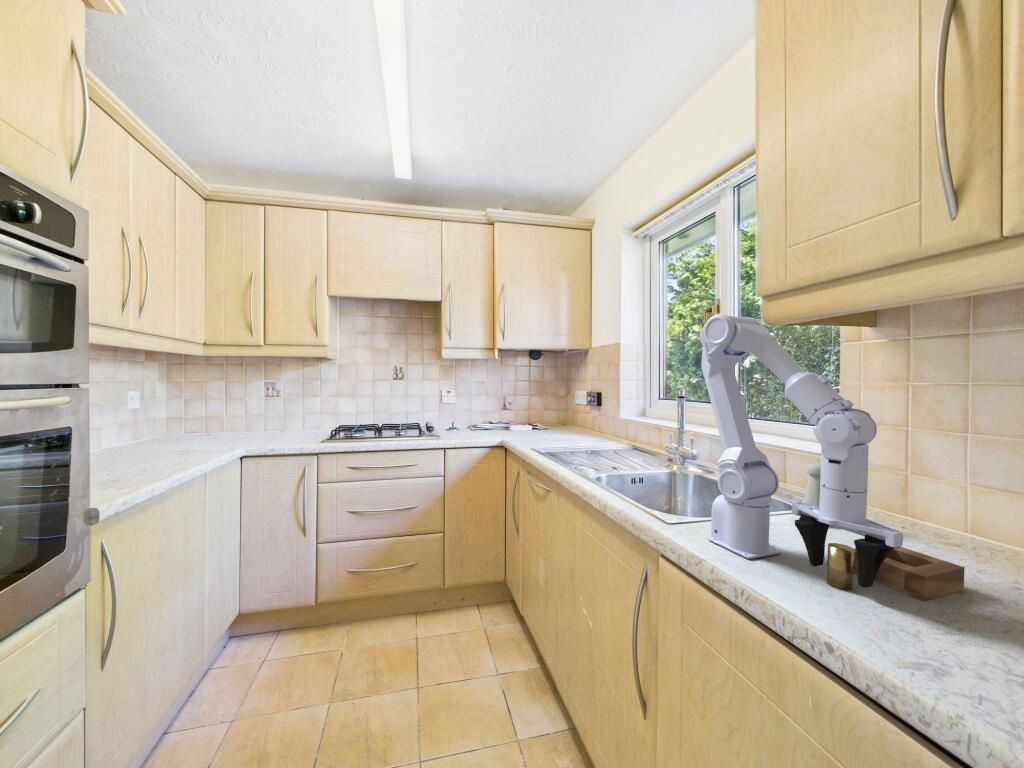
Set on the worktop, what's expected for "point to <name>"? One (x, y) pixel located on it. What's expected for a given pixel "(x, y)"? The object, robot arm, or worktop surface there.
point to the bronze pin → (840, 566)
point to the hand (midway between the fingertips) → (840, 575)
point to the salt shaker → (813, 484)
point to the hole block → (918, 574)
